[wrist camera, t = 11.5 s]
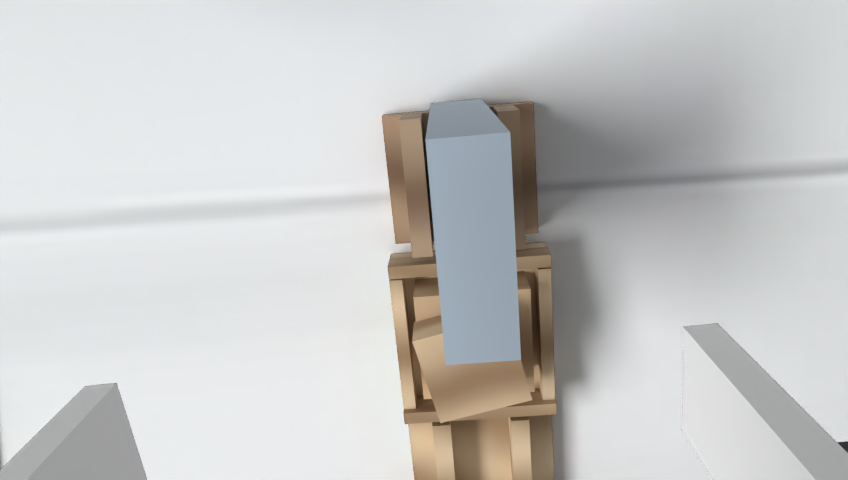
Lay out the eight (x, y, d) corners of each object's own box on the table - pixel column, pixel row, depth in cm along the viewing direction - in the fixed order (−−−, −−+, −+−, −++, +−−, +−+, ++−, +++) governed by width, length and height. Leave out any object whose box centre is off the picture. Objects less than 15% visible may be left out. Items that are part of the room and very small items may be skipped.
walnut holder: (383, 114, 37) (376, 122, 33) (531, 101, 37) (541, 107, 33) (396, 239, 39) (392, 259, 36) (535, 228, 39) (546, 247, 35)
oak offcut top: (413, 322, 37) (412, 341, 34) (503, 298, 36) (507, 315, 34) (440, 399, 38) (440, 423, 36) (526, 377, 38) (532, 400, 35)
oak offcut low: (415, 279, 39) (413, 297, 36) (523, 271, 39) (530, 288, 36) (424, 374, 41) (423, 399, 38) (527, 367, 41) (534, 392, 38)
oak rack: (390, 254, 40) (381, 295, 33) (544, 242, 39) (565, 281, 33) (422, 536, 47) (419, 617, 40) (553, 528, 46) (572, 610, 39)
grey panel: (430, 103, 36) (425, 139, 21) (481, 98, 36) (510, 132, 21) (442, 247, 38) (445, 365, 24) (490, 243, 38) (520, 360, 24)
